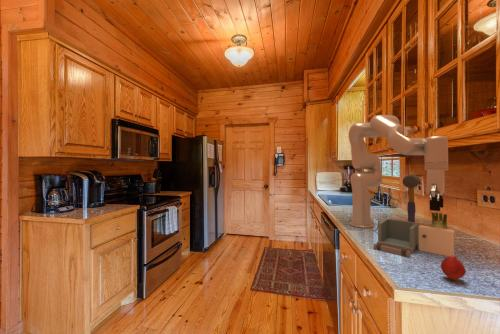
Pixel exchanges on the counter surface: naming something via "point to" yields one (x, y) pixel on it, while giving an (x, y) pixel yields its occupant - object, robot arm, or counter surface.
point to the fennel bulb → (441, 222)
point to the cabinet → (397, 237)
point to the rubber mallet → (411, 194)
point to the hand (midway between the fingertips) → (436, 208)
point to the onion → (453, 268)
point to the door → (436, 240)
